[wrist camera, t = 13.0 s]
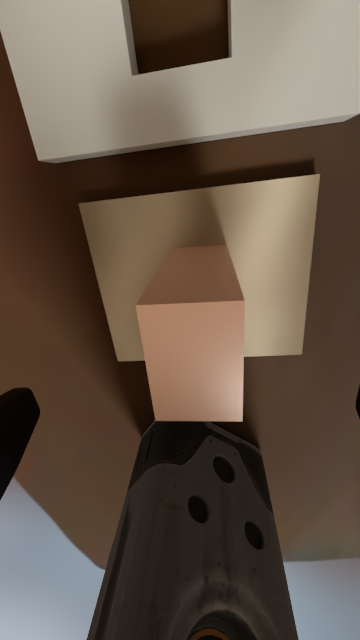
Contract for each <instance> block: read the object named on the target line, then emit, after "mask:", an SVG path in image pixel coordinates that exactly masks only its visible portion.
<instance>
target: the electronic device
mask: <svg viewBox="0 0 360 640" xmlns="http://www.w3.org/2000/svg"><path fill="white" fill-rule="evenodd" d="M87 640H298V636H297V630H296V625H295V620H294V616H293V611H292V605H291V600H290V595H289V590H288V585H287V580H286V575H285V570H284V565H283V560H282V555H281V550H280V545H279V540H278V535H277V530H276V525H275V520H274V515H273V510H272V505H271V499H270V494H269V489H268V484H267V479H266V474H265V469H264V464H263V459H262V455H261V452H260V450H259V449H258V448H256V447H255V446H254V445H252V444H250V443H248V442H247V441H245V440H243V439H241V438H239V437H237V436H235V435H233V434H232V433H230V432H228V431H226V430H224V429H222V428H220V427H218V426H216V425H215V424H213V423H211V422H209V421H155V420H154V422H153V423H152V424H151V425H150V427H149V428H148V429H147V430H146V431H145V433H144V434H143V436H142V439H141V442H140V446H139V450H138V453H137V457H136V461H135V465H134V468H133V472H132V476H131V480H130V483H129V487H128V491H127V494H126V498H125V502H124V505H123V509H122V513H121V517H120V520H119V524H118V528H117V532H116V535H115V539H114V541H113V545H112V548H111V552H110V556H109V559H108V563H107V567H106V571H105V575H104V578H103V582H102V586H101V589H100V593H99V597H98V600H97V604H96V608H95V611H94V615H93V619H92V622H91V626H90V630H89V634H88V637H87Z"/></svg>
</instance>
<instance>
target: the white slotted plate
mask: <svg viewBox="0 0 360 640" xmlns="http://www.w3.org/2000/svg"><path fill="white" fill-rule="evenodd" d="M227 1H228V43H229V58H226V59H220V60H215V61H209V62H204V63H199V64H193V65H188V66H182V67H177V68H171V69H166V70H161V71H155V72H150V73H144V74H139V75H138V69H137V61H136V54H135V47H134V39H133V32H132V25H131V17H130V10H129V3H128V0H0V31H1V34H2V38H3V41H4V45H5V48H6V52H7V55H8V58H9V62H10V65H11V69H12V72H13V76H14V79H15V82H16V86H17V89H18V93H19V96H20V100H21V103H22V107H23V110H24V113H25V117H26V120H27V124H28V127H29V131H30V134H31V137H32V141H33V144H34V148H35V151H36V155H37V158H38V161H43V162H50V163H60V162H67V161H74V160H81V159H88V158H95V157H102V156H109V155H115V154H122V153H129V152H136V151H143V150H150V149H157V148H164V147H171V146H178V145H184V144H191V143H198V142H205V141H212V140H219V139H226V138H233V137H240V136H246V135H253V134H260V133H267V132H274V131H281V130H288V129H295V128H302V127H308V126H315V125H322V124H329V123H336V122H343V121H345V120H348V119H350V118H352V117H354V116H356V115H358V114H360V0H227Z"/></svg>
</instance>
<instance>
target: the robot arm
mask: <svg viewBox="0 0 360 640" xmlns="http://www.w3.org/2000/svg"><path fill="white" fill-rule="evenodd" d="M356 410H357V413H358V416H359V418H360V385H359V390H358V394H357V399H356ZM39 415H40V408H39V406H38V404H37V401H36V399H35V397H34V394H33V392H32V390H31V389H29V388H14V389H11V390H10V391H8V392H6V393H4V394H2V395H0V500H1V498H2V496H3V494H4V492H5V490H6V489H7V487H8V485H9V483H10V481H11V479H12V477H13V475H14V473H15V471H16V469H17V467H18V465H19V463H20V461H21V458H22V456H23V454H24V451H25V449H26V447H27V444H28V442H29V440H30V437H31V435H32V433H33V430H34V428H35V426H36V423H37V421H38V419H39Z"/></svg>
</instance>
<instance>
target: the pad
mask: <svg viewBox="0 0 360 640" xmlns="http://www.w3.org/2000/svg"><path fill="white" fill-rule="evenodd" d="M319 179H320V174H315V175H307V176H299V177H291V178H283V179H275V180H266V181H258V182H250V183H242V184H234V185H225V186H217V187H209V188H201V189H193V190H184V191H176V192H168V193H160V194H152V195H143V196H135V197H127V198H119V199H111V200H102V201H94V202H86V203H78V205H79V208H80V212H81V216H82V220H83V224H84V228H85V232H86V236H87V240H88V244H89V248H90V252H91V256H92V260H93V264H94V268H95V272H96V276H97V280H98V284H99V288H100V292H101V296H102V300H103V304H104V308H105V312H106V316H107V320H108V324H109V328H110V332H111V336H112V340H113V344H114V348H115V352H116V356H117V360H118V361H144V360H145V357H144V352H143V346H142V340H141V334H140V328H139V323H138V317H137V311H136V304H137V302H138V301H139V299H140V297H141V296H142V294H143V293H144V291H145V289H146V288H147V286H148V285H149V283H150V281H151V280H152V278H153V277H154V275H155V273H156V272H157V270H158V269H159V267H160V265H161V264H162V262H163V260H164V259H165V257H166V256H167V254H168V252H169V251H170V249H171V248H183V247H197V246H211V245H225V244H227V247H228V250H229V253H230V256H231V259H232V262H233V266H234V269H235V272H236V275H237V278H238V281H239V284H240V287H241V290H242V293H243V297H244V300H245V316H244V357H249V356H276V355H302V347H303V337H304V327H305V317H306V307H307V297H308V287H309V278H310V268H311V258H312V248H313V238H314V228H315V218H316V208H317V198H318V189H319Z"/></svg>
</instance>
